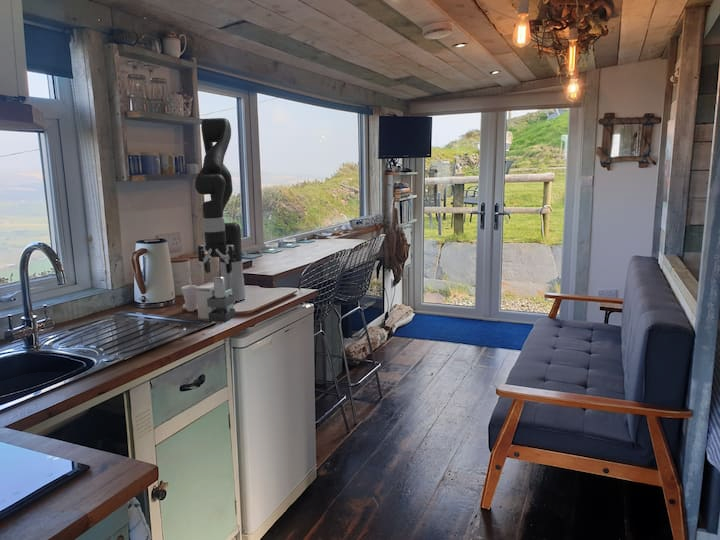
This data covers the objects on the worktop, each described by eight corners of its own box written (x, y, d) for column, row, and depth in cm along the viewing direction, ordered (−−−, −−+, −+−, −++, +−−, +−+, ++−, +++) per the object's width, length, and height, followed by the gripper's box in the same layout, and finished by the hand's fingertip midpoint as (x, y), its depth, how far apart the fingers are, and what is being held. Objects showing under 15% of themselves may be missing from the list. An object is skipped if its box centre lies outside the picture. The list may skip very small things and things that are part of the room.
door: (214, 319, 203) (211, 278, 200) (227, 312, 213) (224, 272, 210) (224, 320, 202) (220, 278, 199) (237, 312, 212) (233, 273, 209)
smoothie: (197, 312, 215) (193, 277, 212) (181, 312, 215) (177, 278, 212) (202, 307, 221) (198, 274, 218) (186, 308, 221) (183, 274, 218)
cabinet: (211, 310, 216) (209, 281, 213) (241, 312, 213) (239, 282, 210) (194, 320, 204) (191, 289, 201) (226, 321, 201) (223, 290, 198)
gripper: (237, 228, 200) (240, 271, 203) (202, 228, 203) (206, 270, 207) (227, 231, 193) (231, 275, 196) (191, 231, 196) (196, 274, 200)
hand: (218, 272), depth 201 cm, fingers open, 8 cm apart
